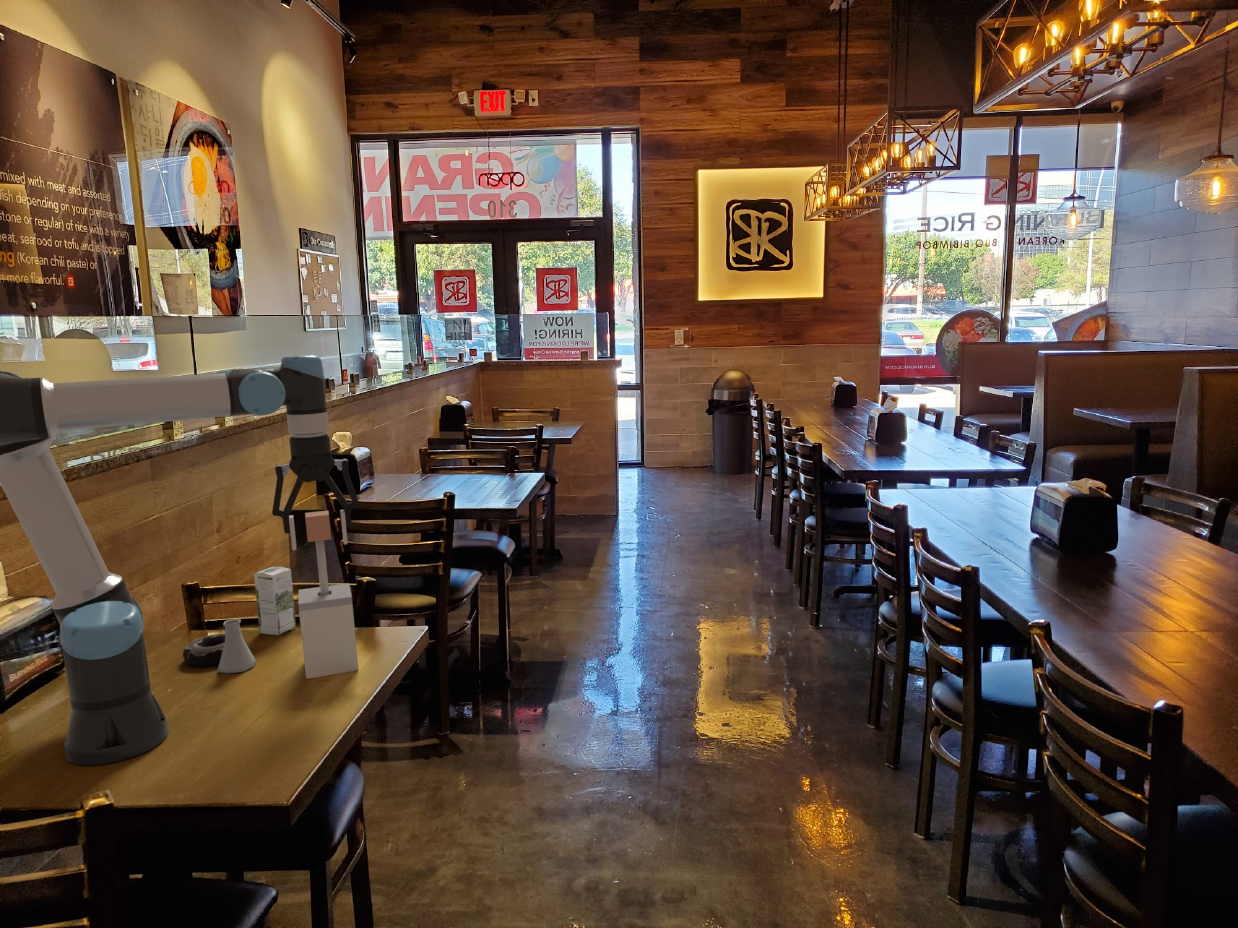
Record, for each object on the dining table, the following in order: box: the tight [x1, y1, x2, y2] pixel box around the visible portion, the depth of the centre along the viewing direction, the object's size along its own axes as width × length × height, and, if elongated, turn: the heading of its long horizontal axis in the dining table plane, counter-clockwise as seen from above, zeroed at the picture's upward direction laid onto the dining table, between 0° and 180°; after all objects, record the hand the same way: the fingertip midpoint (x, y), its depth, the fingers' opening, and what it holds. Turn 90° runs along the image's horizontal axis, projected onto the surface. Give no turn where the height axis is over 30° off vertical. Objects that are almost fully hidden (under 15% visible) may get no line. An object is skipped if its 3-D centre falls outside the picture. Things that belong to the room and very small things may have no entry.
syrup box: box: [253, 566, 297, 636], centre depth 196 cm, size 6×6×14 cm
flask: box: [217, 618, 257, 674], centre depth 176 cm, size 7×7×10 cm
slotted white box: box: [297, 582, 359, 680], centre depth 174 cm, size 10×10×16 cm
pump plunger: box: [304, 510, 332, 596], centre depth 172 cm, size 4×4×20 cm
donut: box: [182, 633, 226, 667], centre depth 182 cm, size 12×12×4 cm
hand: (320, 545), depth 171 cm, fingers open, 9 cm apart
